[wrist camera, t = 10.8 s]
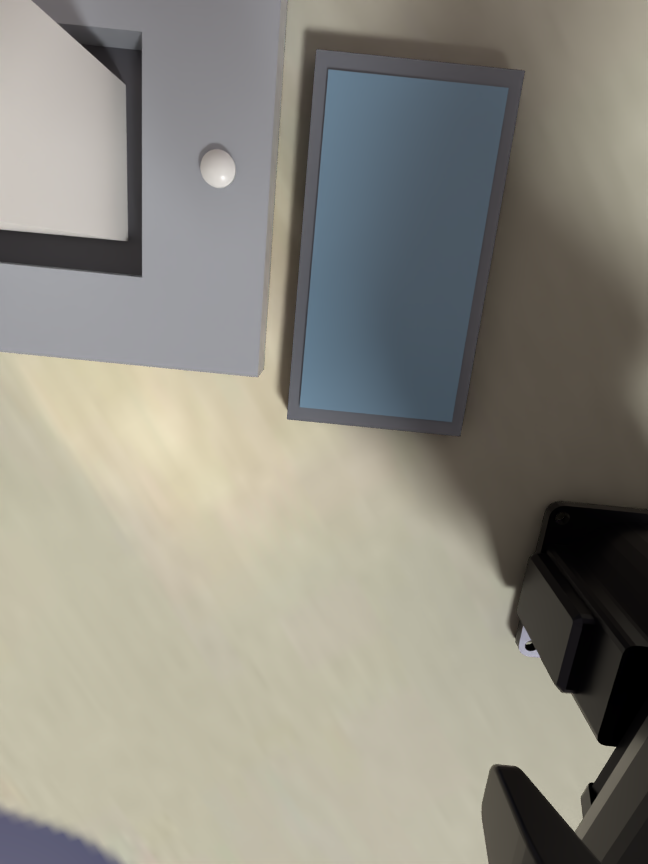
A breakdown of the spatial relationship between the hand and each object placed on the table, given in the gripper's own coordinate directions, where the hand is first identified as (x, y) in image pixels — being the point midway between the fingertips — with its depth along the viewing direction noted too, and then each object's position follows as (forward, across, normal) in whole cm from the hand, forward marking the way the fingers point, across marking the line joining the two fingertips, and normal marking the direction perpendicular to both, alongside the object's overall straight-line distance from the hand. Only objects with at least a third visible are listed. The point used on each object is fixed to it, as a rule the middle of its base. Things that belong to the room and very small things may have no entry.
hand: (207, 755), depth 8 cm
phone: (+12, -3, -8) cm, 15 cm away
